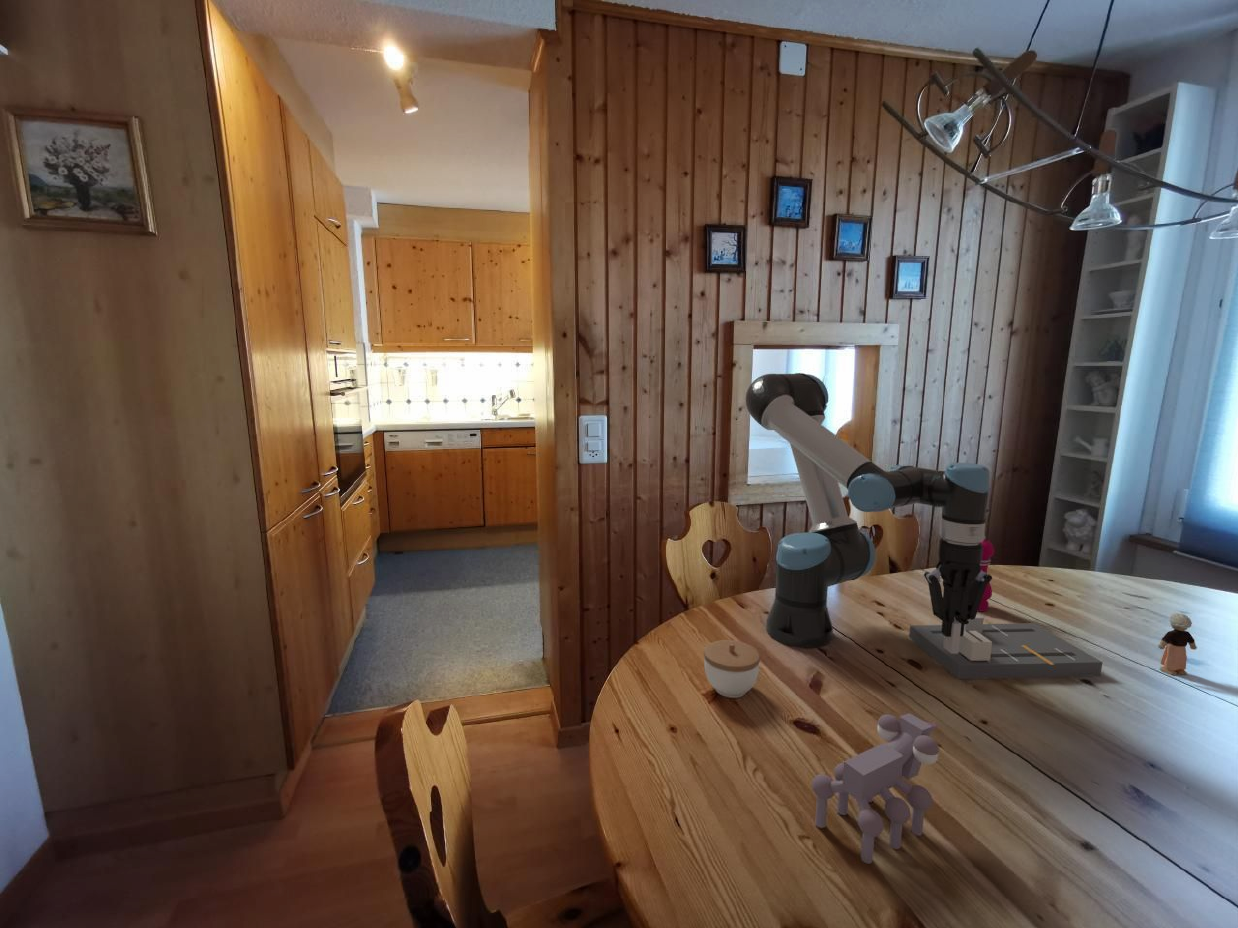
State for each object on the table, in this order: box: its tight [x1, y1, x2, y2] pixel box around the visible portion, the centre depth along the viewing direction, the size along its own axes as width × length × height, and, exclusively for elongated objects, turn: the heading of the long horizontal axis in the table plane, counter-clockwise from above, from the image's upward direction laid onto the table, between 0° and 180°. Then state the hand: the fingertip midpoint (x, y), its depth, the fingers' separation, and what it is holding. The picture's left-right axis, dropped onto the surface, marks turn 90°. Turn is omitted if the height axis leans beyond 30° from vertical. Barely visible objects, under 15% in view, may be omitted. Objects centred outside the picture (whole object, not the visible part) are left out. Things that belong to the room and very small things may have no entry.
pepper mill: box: [972, 534, 995, 612], centre depth 147 cm, size 7×7×20 cm
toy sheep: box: [811, 712, 940, 865], centre depth 77 cm, size 20×11×14 cm, turn 118°
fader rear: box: [954, 613, 984, 635], centre depth 127 cm, size 4×5×4 cm
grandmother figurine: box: [1157, 612, 1198, 676], centre depth 115 cm, size 8×4×13 cm, turn 104°
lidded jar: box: [703, 639, 761, 699], centre depth 109 cm, size 11×11×9 cm
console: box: [908, 622, 1103, 680], centre depth 123 cm, size 30×18×3 cm, turn 92°
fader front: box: [959, 631, 992, 661], centre depth 116 cm, size 4×5×4 cm
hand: (950, 650), depth 116 cm, fingers closed
